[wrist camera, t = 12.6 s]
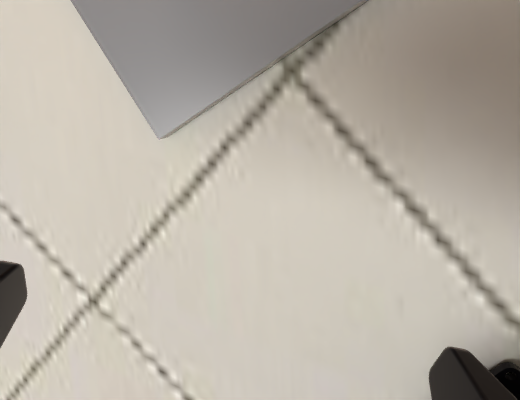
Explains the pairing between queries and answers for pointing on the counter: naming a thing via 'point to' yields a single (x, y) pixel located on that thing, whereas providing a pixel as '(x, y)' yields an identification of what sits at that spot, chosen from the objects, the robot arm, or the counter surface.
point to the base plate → (199, 47)
